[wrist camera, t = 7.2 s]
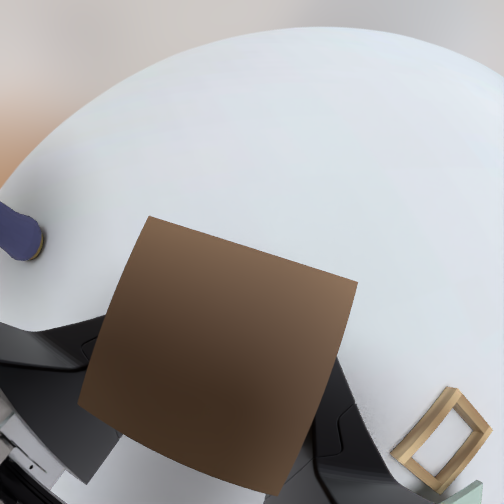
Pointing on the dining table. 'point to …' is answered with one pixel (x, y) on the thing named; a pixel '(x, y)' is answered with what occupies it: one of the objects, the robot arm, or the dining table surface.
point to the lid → (467, 495)
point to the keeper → (427, 427)
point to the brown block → (216, 354)
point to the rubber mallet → (19, 234)
